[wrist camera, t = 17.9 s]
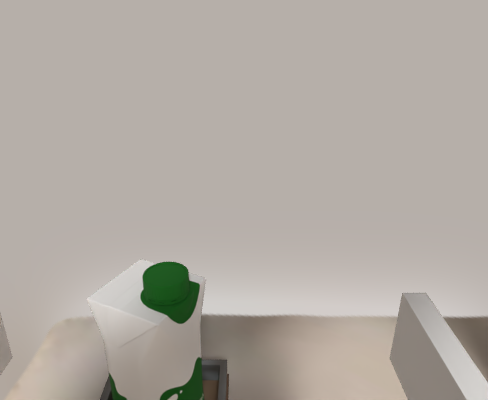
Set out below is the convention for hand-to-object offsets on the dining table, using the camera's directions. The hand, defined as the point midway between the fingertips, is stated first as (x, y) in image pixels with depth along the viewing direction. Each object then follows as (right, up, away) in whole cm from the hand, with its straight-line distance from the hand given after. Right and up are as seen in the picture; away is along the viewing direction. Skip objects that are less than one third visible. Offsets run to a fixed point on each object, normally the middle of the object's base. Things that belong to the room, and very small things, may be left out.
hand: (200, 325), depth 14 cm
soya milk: (-8, -20, +31) cm, 38 cm away
